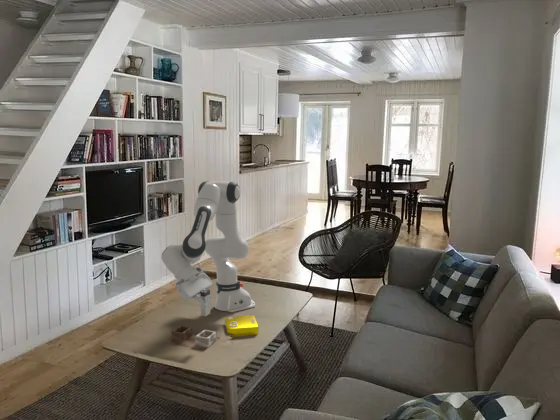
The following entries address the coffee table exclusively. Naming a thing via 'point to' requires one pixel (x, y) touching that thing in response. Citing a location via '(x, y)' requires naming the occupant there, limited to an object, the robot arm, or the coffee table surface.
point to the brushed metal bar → (206, 305)
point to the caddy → (193, 338)
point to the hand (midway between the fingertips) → (206, 300)
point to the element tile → (241, 325)
